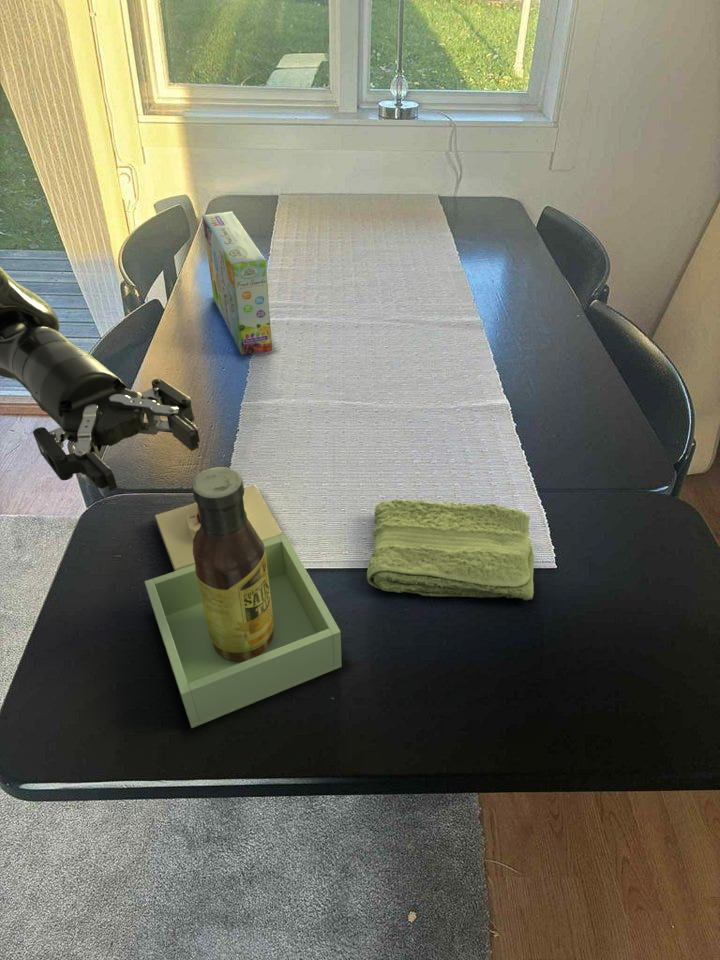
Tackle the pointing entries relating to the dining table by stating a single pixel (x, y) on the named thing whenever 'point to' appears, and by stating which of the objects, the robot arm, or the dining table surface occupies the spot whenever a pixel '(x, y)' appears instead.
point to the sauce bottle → (231, 568)
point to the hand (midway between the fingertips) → (154, 461)
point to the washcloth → (451, 550)
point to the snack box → (238, 282)
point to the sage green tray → (285, 663)
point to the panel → (185, 522)
